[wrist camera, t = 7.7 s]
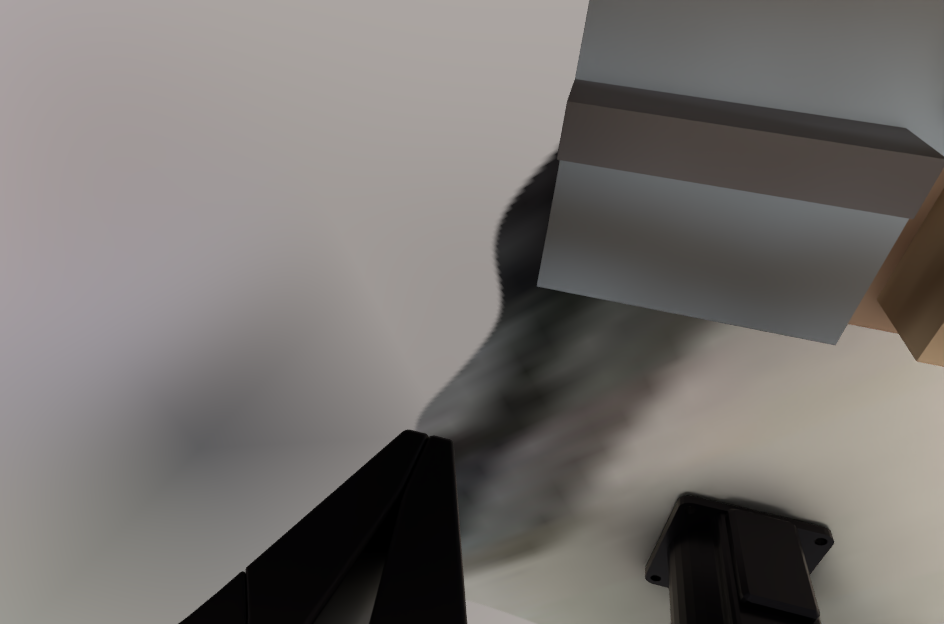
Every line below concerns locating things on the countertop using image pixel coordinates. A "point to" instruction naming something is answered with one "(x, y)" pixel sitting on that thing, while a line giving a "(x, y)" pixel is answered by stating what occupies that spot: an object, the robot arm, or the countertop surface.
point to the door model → (758, 165)
